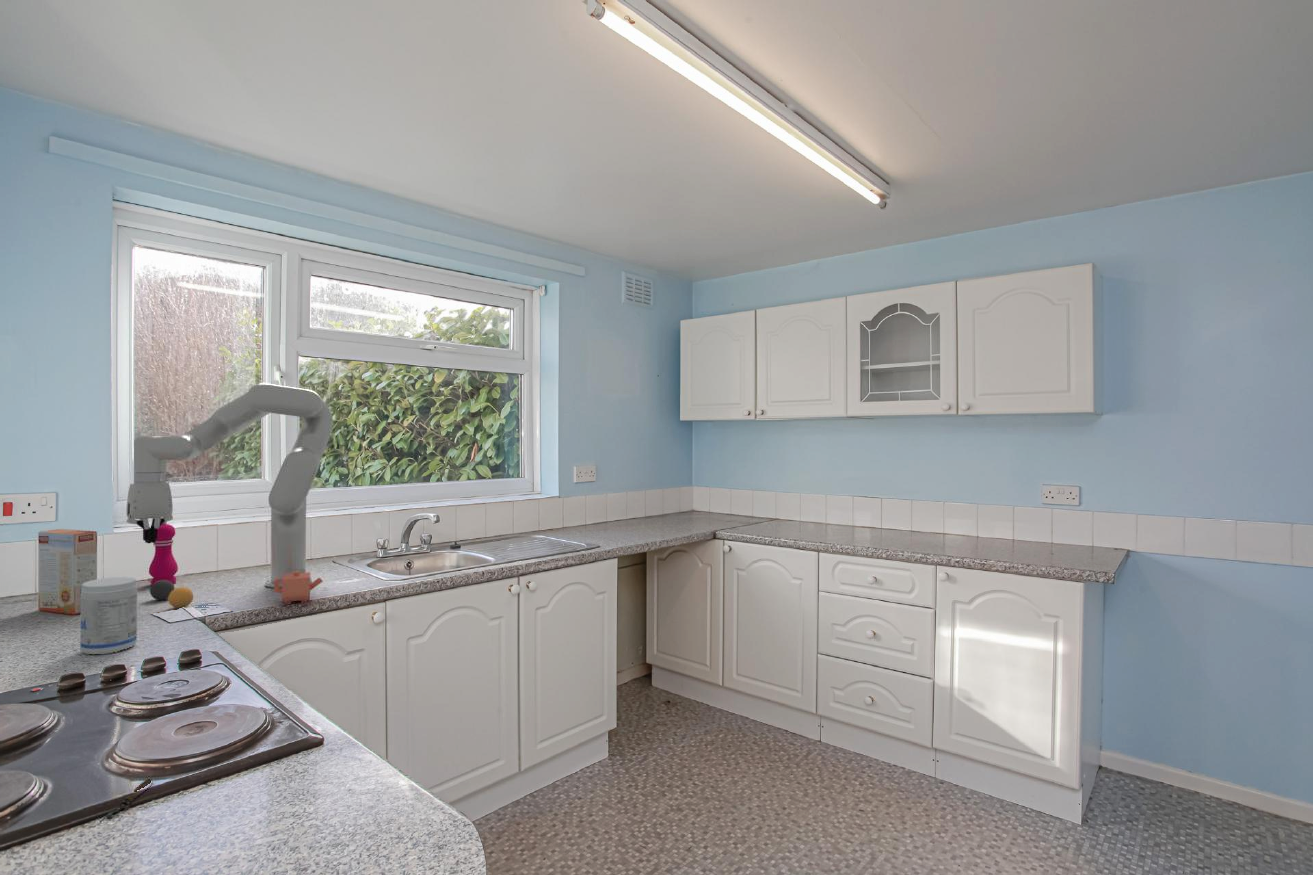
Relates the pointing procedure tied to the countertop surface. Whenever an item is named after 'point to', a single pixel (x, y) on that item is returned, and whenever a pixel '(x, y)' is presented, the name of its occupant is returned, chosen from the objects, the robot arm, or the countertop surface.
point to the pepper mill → (163, 555)
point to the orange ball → (180, 597)
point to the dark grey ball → (161, 589)
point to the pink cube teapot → (295, 587)
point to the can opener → (126, 801)
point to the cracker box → (65, 568)
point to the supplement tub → (108, 615)
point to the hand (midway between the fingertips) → (150, 542)
